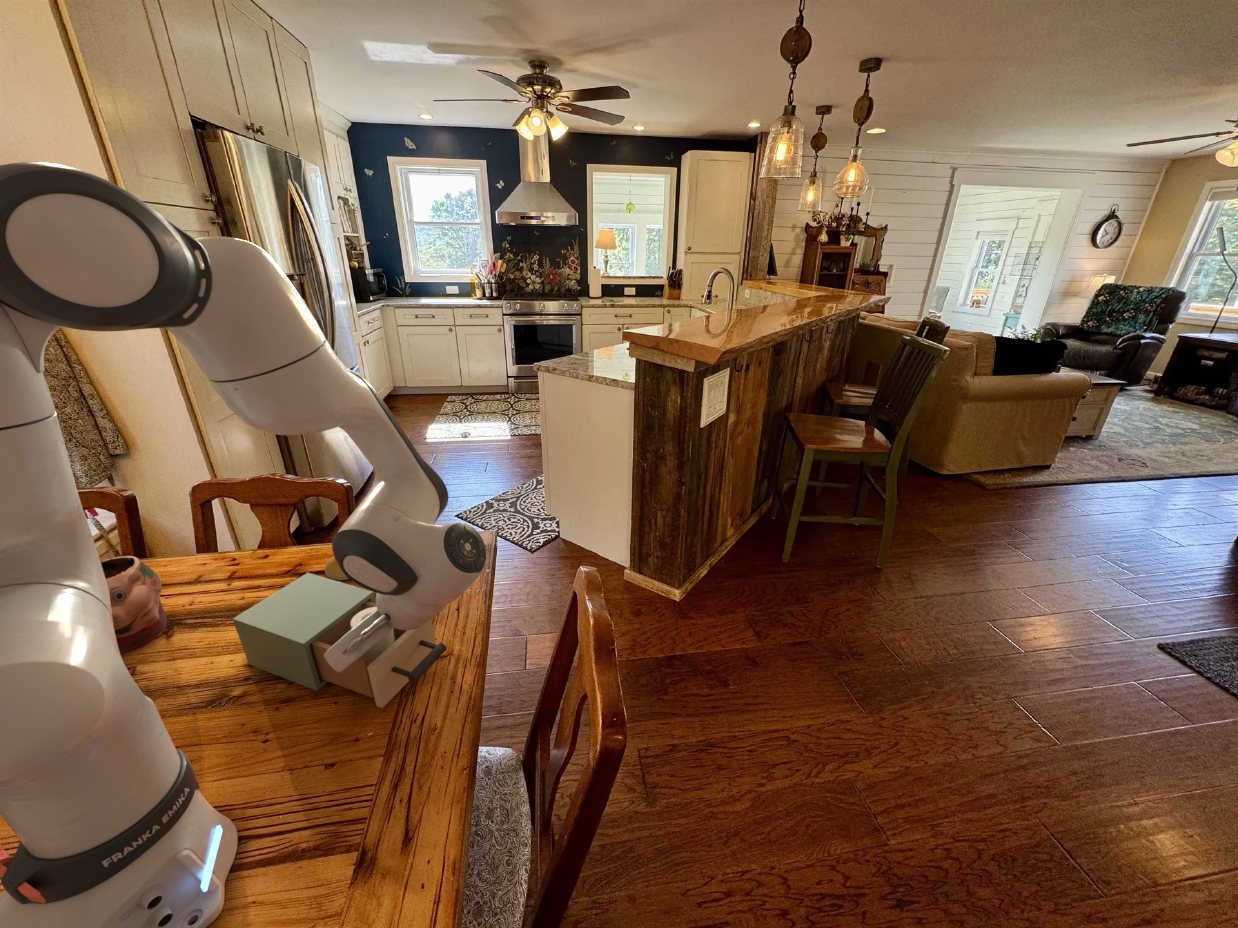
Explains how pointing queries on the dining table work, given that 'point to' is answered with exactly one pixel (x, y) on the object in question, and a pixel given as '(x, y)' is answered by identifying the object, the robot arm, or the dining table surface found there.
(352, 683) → the drawer
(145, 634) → the decorative planter
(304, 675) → the cabinet
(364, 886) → the dining table surface
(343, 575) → the bread roll
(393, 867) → the dining table surface
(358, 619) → the paper towel roll
